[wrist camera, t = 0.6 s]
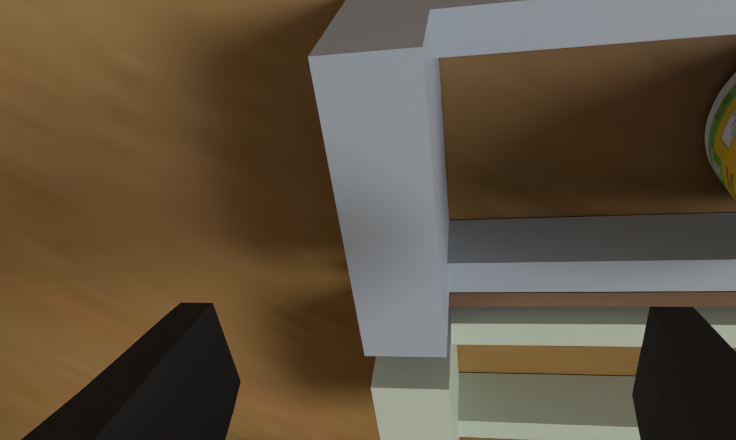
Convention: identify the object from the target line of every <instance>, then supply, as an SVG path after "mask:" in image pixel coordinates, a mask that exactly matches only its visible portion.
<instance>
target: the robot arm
mask: <svg viewBox="0 0 736 440" xmlns="http://www.w3.org/2000/svg"><path fill="white" fill-rule="evenodd" d="M240 382H241V381H240V378H239V376H238V373H237V370H236V367H235V364H234V362H233V359H232V356H231V353H230V350H229V347H228V345H227V342H226V339H225V336H224V333H223V331H222V328H221V325H220V322H219V319H218V317H217V314H216V311H215V308H214V305H213V303H180V304H179V305H178V306H176V307H175V308H174V309H173V310H172V311H170V312H169V313H168V314H167V315H166V316H165V317H163V318H162V319H161V320H160V321H159V322H158V323H157V324H155V325H154V326H153V327H152V328H151V329H150V330H149V331H148V332H146V333H145V334H144V335H143V336H142V337H141V338H140V339H139V340H138V341H136V342H135V343H134V344H133V345H132V346H131V347H130V348H129V349H128V350H126V351H125V352H124V353H123V354H122V355H121V356H120V357H119V358H117V359H116V360H115V361H114V362H113V363H112V364H111V365H109V366H108V367H107V368H106V369H105V370H104V371H103V372H102V373H100V374H99V375H98V376H97V377H96V378H95V379H94V380H92V381H91V382H90V383H89V384H88V385H87V386H86V387H84V388H83V389H82V390H81V391H80V392H79V393H78V394H76V395H75V396H74V397H73V398H71V399H70V400H69V401H68V402H67V403H65V404H64V405H63V406H62V407H61V408H59V409H58V410H57V411H56V412H54V413H53V414H52V415H51V416H50V417H48V418H47V419H46V420H45V421H43V422H42V423H41V424H40V425H39V426H37V427H36V428H35V429H34V430H32V431H31V432H30V433H29V434H28V435H26V436H25V437H24V438H23V439H21V440H225V438H226V435H227V432H228V428H229V424H230V421H231V417H232V414H233V410H234V406H235V402H236V398H237V394H238V390H239V386H240ZM632 397H633V403H634V408H635V413H636V419H637V424H638V429H639V434H640V439H641V440H736V351H735V350H734V349H733V348H732V347H731V346H730V345H729V344H728V343H727V342H726V341H725V340H724V339H723V338H722V337H721V335H720V334H719V333H718V332H717V331H716V330H715V329H714V328H713V327H712V326H711V325H710V324H709V323H708V322H707V321H706V319H705V318H704V317H703V316H702V315H701V314H700V313H699V312H698V311H697V310H696V309H695V308H694V307H655V306H650V308H649V313H648V318H647V323H646V328H645V333H644V338H643V343H642V348H641V353H640V358H639V362H638V367H637V372H636V377H635V382H634V387H633V392H632Z"/></svg>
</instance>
